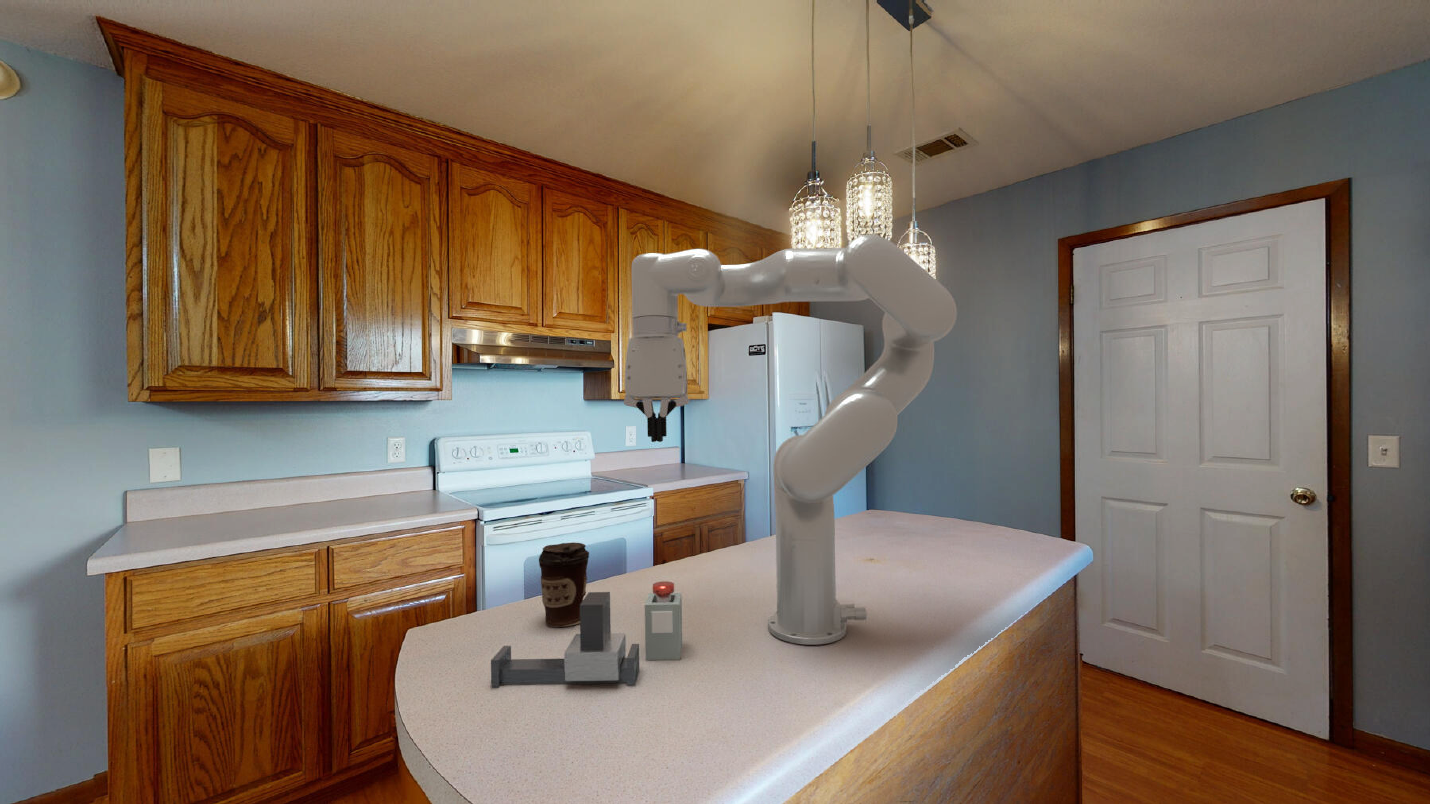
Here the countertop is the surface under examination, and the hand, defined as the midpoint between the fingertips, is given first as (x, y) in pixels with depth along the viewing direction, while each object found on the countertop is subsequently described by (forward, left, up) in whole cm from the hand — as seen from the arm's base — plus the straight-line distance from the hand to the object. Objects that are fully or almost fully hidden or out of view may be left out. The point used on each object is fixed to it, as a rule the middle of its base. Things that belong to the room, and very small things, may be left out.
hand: (657, 441), depth 91 cm
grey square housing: (-2, +9, -31) cm, 32 cm away
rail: (+11, +16, -31) cm, 37 cm away
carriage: (+7, +16, -31) cm, 36 cm away
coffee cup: (+17, -4, -31) cm, 36 cm away
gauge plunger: (-1, +9, -28) cm, 29 cm away
